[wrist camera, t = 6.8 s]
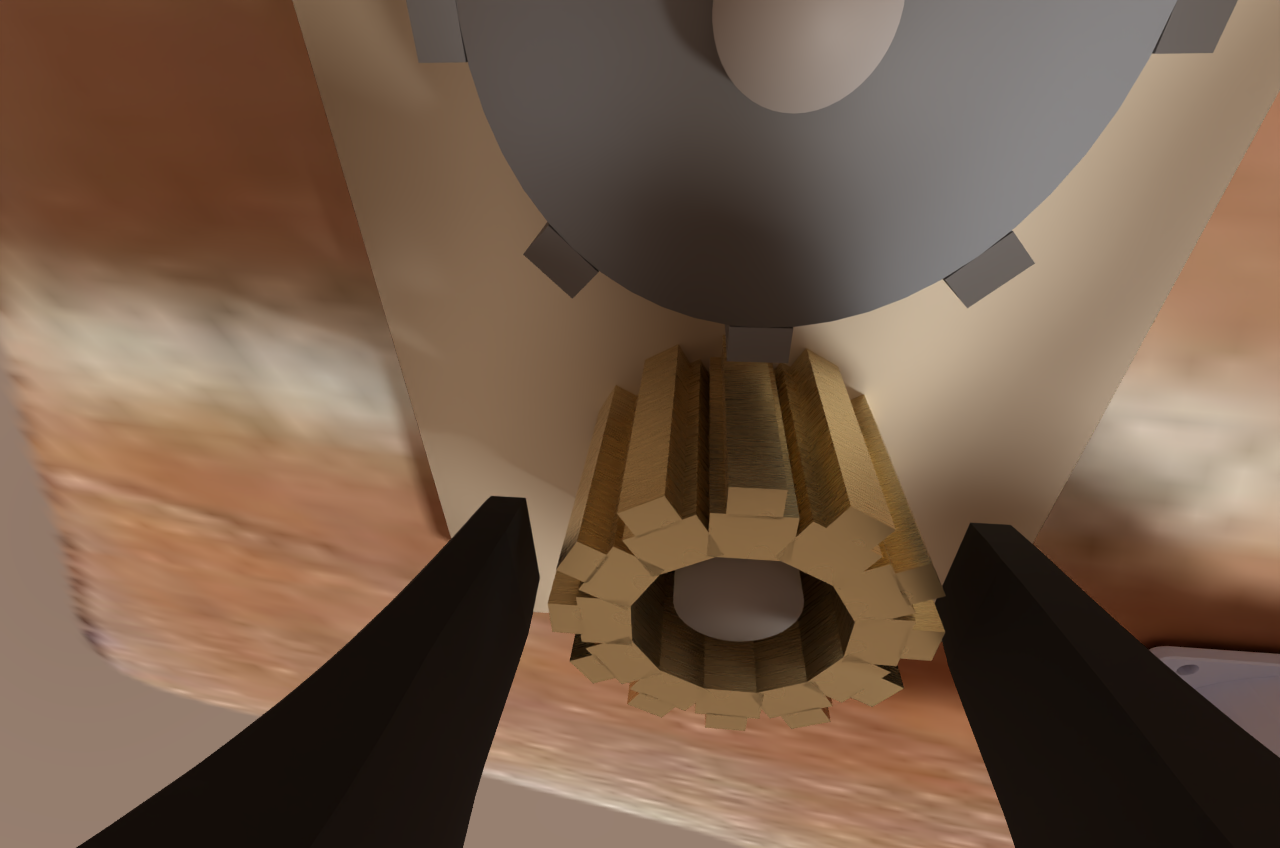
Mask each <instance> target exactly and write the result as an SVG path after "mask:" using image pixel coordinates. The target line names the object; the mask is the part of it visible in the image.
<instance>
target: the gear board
mask: <svg viewBox="0 0 1280 848" xmlns="http://www.w3.org/2000/svg"><path fill="white" fill-rule="evenodd" d="M292 1H293V4H294V8H295V11H296V14H297V18H298V21H299V25H300V28H301V31H302V35H303V38H304V42H305V45H306V48H307V52H308V55H309V58H310V62H311V65H312V69H313V72H314V75H315V79H316V82H317V86H318V89H319V92H320V96H321V99H322V102H323V106H324V109H325V113H326V116H327V119H328V123H329V126H330V130H331V133H332V136H333V140H334V143H335V146H336V150H337V153H338V157H339V160H340V163H341V167H342V170H343V174H344V177H345V180H346V184H347V187H348V191H349V194H350V197H351V201H352V204H353V207H354V211H355V214H356V218H357V221H358V224H359V228H360V231H361V235H362V238H363V241H364V245H365V248H366V251H367V255H368V258H369V262H370V265H371V268H372V272H373V275H374V279H375V282H376V285H377V289H378V292H379V295H380V299H381V302H382V306H383V309H384V312H385V316H386V319H387V323H388V326H389V329H390V333H391V336H392V340H393V343H394V346H395V350H396V353H397V356H398V360H399V363H400V367H401V370H402V373H403V377H404V380H405V384H406V387H407V390H408V394H409V397H410V400H411V404H412V407H413V411H414V414H415V417H416V421H417V424H418V428H419V431H420V434H421V438H422V441H423V444H424V448H425V451H426V455H427V458H428V461H429V465H430V468H431V472H432V475H433V478H434V482H435V485H436V489H437V492H438V495H439V499H440V502H441V505H442V509H443V512H444V516H445V519H446V522H447V526H448V529H449V533H450V536H451V538H452V537H453V536H454V535H455V534H456V533H457V532H458V531H459V530H460V529H461V527H462V526H463V525H464V524H465V523H466V522H467V521H468V520H469V518H470V517H471V516H472V515H473V514H474V513H475V512H476V511H477V510H478V508H479V507H480V506H481V505H482V504H483V503H484V502H485V501H486V500H487V499H488V498H489V497H490V496H503V497H521V498H526V501H527V507H528V513H529V518H530V524H531V529H532V535H533V541H534V546H535V552H536V558H537V563H538V569H539V574H540V581H539V585H538V590H537V595H536V600H535V605H534V610H533V612H543V613H549V609H548V600H549V596H550V592H551V589H552V585H553V581H554V578H555V574H556V568H557V564H558V560H559V557H560V553H561V549H562V546H563V542H564V538H565V535H566V531H567V527H568V524H569V520H570V516H571V513H572V509H573V505H574V502H575V498H576V494H577V491H578V487H579V483H580V480H581V476H582V472H583V469H584V465H585V461H586V458H587V454H588V450H589V447H590V443H591V439H592V436H593V432H594V428H595V425H596V421H597V417H598V414H599V410H600V409H601V407H602V406H603V404H604V402H605V401H606V399H607V398H608V396H609V395H610V393H611V392H612V390H613V388H614V387H615V385H617V386H619V387H621V388H623V389H625V390H627V391H629V392H630V393H632V394H634V395H636V396H637V394H638V393H639V390H640V385H641V379H642V374H643V369H644V363H645V360H646V359H648V358H650V357H652V356H654V355H656V354H658V353H660V352H663V351H665V350H667V349H669V348H671V347H673V346H675V345H677V344H679V345H680V347H681V349H682V350H683V352H684V354H685V355H686V357H687V358H688V360H689V362H690V363H692V362H694V361H696V360H699V359H701V361H702V363H703V364H704V366H705V368H706V369H707V371H708V373H709V364H710V357H721V352H722V339H723V335H725V336H726V357H727V361H733V362H764V363H773V369H774V370H775V368H776V367H777V366H778V365H779V364H780V363H785V364H786V365H788V366H790V367H791V365H792V364H793V363H794V362H795V361H796V360H797V358H798V357H799V356H800V355H801V354H802V352H803V351H804V350H805V349H806V348H807V349H809V350H811V351H813V352H814V353H816V354H818V355H819V356H821V357H823V358H825V359H826V360H828V361H830V362H831V363H833V364H835V365H837V366H838V368H839V370H840V373H841V376H842V379H843V382H844V384H845V387H846V390H847V393H848V396H849V399H850V400H851V399H853V398H856V397H859V396H861V395H865V397H866V400H867V402H868V404H869V406H870V409H871V411H872V413H873V415H874V418H875V420H876V422H877V425H878V427H879V430H880V432H881V435H882V437H883V440H884V442H885V445H886V447H887V450H888V452H889V455H890V457H891V460H892V462H893V465H894V467H895V470H896V472H897V475H898V477H899V480H900V482H901V485H902V487H903V490H904V492H905V495H906V497H907V500H908V502H909V505H910V507H911V510H912V512H913V515H914V517H915V520H916V522H917V525H918V527H919V530H920V532H921V535H922V537H923V540H924V542H925V545H926V547H927V550H928V552H929V555H930V557H931V560H932V562H933V565H934V567H935V570H936V572H937V575H938V577H939V580H940V582H941V585H943V583H944V581H945V579H946V576H947V574H948V572H949V569H950V567H951V565H952V563H953V560H954V558H955V556H956V554H957V551H958V549H959V547H960V544H961V542H962V540H963V538H964V535H965V533H966V531H967V529H968V526H969V524H970V523H987V524H1005V525H1012V526H1013V527H1014V528H1015V529H1016V530H1017V531H1018V532H1020V533H1021V534H1022V535H1023V536H1024V537H1025V538H1026V539H1028V540H1029V541H1030V542H1031V543H1032V544H1033V542H1034V540H1035V539H1036V537H1037V535H1038V533H1039V531H1040V529H1041V528H1042V526H1043V524H1044V522H1045V520H1046V518H1047V517H1048V515H1049V513H1050V511H1051V509H1052V507H1053V506H1054V504H1055V502H1056V500H1057V498H1058V496H1059V495H1060V493H1061V491H1062V489H1063V487H1064V485H1065V484H1066V482H1067V480H1068V478H1069V476H1070V474H1071V473H1072V471H1073V469H1074V467H1075V465H1076V463H1077V462H1078V460H1079V458H1080V456H1081V454H1082V452H1083V450H1084V449H1085V447H1086V445H1087V443H1088V441H1089V439H1090V438H1091V436H1092V434H1093V432H1094V430H1095V428H1096V427H1097V425H1098V423H1099V421H1100V419H1101V417H1102V416H1103V414H1104V412H1105V410H1106V408H1107V406H1108V405H1109V403H1110V401H1111V399H1112V397H1113V395H1114V394H1115V392H1116V390H1117V388H1118V386H1119V384H1120V383H1121V381H1122V379H1123V377H1124V375H1125V373H1126V372H1127V370H1128V368H1129V366H1130V364H1131V362H1132V361H1133V359H1134V357H1135V355H1136V353H1137V351H1138V349H1139V348H1140V346H1141V344H1142V342H1143V340H1144V338H1145V337H1146V335H1147V333H1148V331H1149V329H1150V327H1151V326H1152V324H1153V322H1154V320H1155V318H1156V316H1157V315H1158V313H1159V311H1160V309H1161V307H1162V305H1163V304H1164V302H1165V300H1166V298H1167V296H1168V294H1169V293H1170V291H1171V289H1172V287H1173V285H1174V283H1175V282H1176V280H1177V278H1178V276H1179V274H1180V272H1181V271H1182V269H1183V267H1184V265H1185V263H1186V261H1187V260H1188V258H1189V256H1190V254H1191V252H1192V250H1193V248H1194V247H1195V245H1196V243H1197V241H1198V239H1199V237H1200V236H1201V234H1202V232H1203V230H1204V228H1205V226H1206V225H1207V223H1208V221H1209V219H1210V217H1211V215H1212V214H1213V212H1214V210H1215V208H1216V206H1217V204H1218V203H1219V201H1220V199H1221V197H1222V195H1223V193H1224V192H1225V190H1226V188H1227V186H1228V184H1229V182H1230V181H1231V179H1232V177H1233V175H1234V173H1235V171H1236V170H1237V168H1238V166H1239V164H1240V162H1241V160H1242V159H1243V157H1244V155H1245V153H1246V151H1247V149H1248V147H1249V146H1250V144H1251V142H1252V140H1253V138H1254V136H1255V135H1256V133H1257V131H1258V129H1259V127H1260V125H1261V124H1262V122H1263V120H1264V118H1265V116H1266V114H1267V113H1268V111H1269V109H1270V107H1271V105H1272V103H1273V102H1274V100H1275V98H1276V96H1277V94H1278V92H1279V91H1280V0H292ZM936 599H937V598H936ZM936 599H933V601H934V603H935V601H936ZM673 604H674V608H675V610H676V612H677V614H678V616H679V617H680V618H681V619H682V620H683V621H684V623H686V624H687V625H688V626H689V627H691V628H692V629H694V630H695V631H697V632H699V633H701V634H704V635H706V636H709V637H712V638H716V639H721V640H727V641H754V640H760V639H765V638H768V637H771V636H774V635H776V634H779V633H781V632H782V631H784V630H786V629H787V628H789V627H790V626H791V625H792V624H794V623H795V621H796V620H797V619H798V618H799V616H800V614H801V613H802V610H803V606H804V597H803V590H802V584H801V578H800V571H799V569H797V568H795V567H793V566H791V565H788V564H786V563H784V562H782V561H771V560H756V559H740V558H724V557H714V558H711V559H708V560H705V561H702V562H698V563H695V564H692V565H689V566H686V567H682V568H679V569H676V570H675V574H674V590H673ZM941 642H942V640H941Z"/></svg>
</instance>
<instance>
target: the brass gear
mask: <svg viewBox="0 0 1280 848" xmlns="http://www.w3.org/2000/svg"><path fill="white" fill-rule="evenodd" d="M714 557H724V558H740V559H756V560H771V561H782V562H784V563H786V564H788V565H791V566H793V567H795V568H797V569H799V571H800V578H801V584H802V590H803V597H804V606H803V610H802V613H801V614H800V616H799V618H798V619H797V620H796V621H795V623H794V624H792V625H791V626H790V627H789V628H787V629H786V630H784V631H782V632H781V633H779V634H776V635H774V636H771V637H768V638H765V639H760V640H754V641H727V640H721V639H716V638H712V637H709V636H706V635H704V634H701V633H699V632H697V631H695V630H694V629H692V628H691V627H689V626H688V625H687V624H686V623H684V621H683V620H682V619H681V618H680V617H679V616H678V614H677V612H676V610H675V608H674V604H673V590H674V574H675V570H676V569H679V568H682V567H686V566H689V565H692V564H695V563H698V562H702V561H705V560H708V559H711V558H714ZM944 596H946V595H945V592H944V590H943V587H942V585H941V582H940V580H939V577H938V575H937V572H936V570H935V567H934V565H933V562H932V560H931V557H930V555H929V552H928V550H927V547H926V545H925V542H924V540H923V537H922V535H921V532H920V530H919V527H918V525H917V522H916V520H915V517H914V515H913V512H912V510H911V507H910V505H909V502H908V500H907V497H906V495H905V492H904V490H903V487H902V485H901V482H900V480H899V477H898V475H897V472H896V470H895V467H894V465H893V462H892V460H891V457H890V455H889V452H888V450H887V447H886V445H885V442H884V440H883V437H882V435H881V432H880V430H879V427H878V425H877V422H876V420H875V418H874V415H873V413H872V411H871V409H870V406H869V404H868V402H867V400H866V397H865V395H861V396H859V397H856V398H853V399H851V400H850V399H849V396H848V393H847V390H846V387H845V384H844V382H843V379H842V376H841V373H840V370H839V368H838V366H837V365H835V364H833V363H831V362H830V361H828V360H826V359H825V358H823V357H821V356H819V355H818V354H816V353H814V352H813V351H811V350H809V349H807V348H806V349H805V350H804V351H803V352H802V354H801V355H800V356H799V357H798V358H797V360H796V361H795V362H794V363H793V364H792V365H791V367H790V366H788V365H786V364H785V363H780V364H779V365H778V366H777V367H776V368H775V370H774V369H773V363H764V362H733V361H727V357H726V336H725V335H723V339H722V352H721V357H710V364H709V373H708V371H707V369H706V368H705V366H704V364H703V363H702V361H701V359H699V360H696V361H694V362H692V363H690V362H689V360H688V358H687V357H686V355H685V354H684V352H683V350H682V349H681V347H680V345H679V344H677V345H675V346H673V347H671V348H669V349H667V350H665V351H663V352H660V353H658V354H656V355H654V356H652V357H650V358H648V359H646V360H645V363H644V369H643V374H642V379H641V385H640V390H639V393H638V394H637V396H636V395H634V394H632V393H630V392H629V391H627V390H625V389H623V388H621V387H619V386H617V385H615V387H614V388H613V390H612V392H611V393H610V395H609V396H608V398H607V399H606V401H605V402H604V404H603V406H602V407H601V409H600V410H599V414H598V417H597V421H596V425H595V428H594V432H593V436H592V439H591V443H590V447H589V450H588V454H587V458H586V461H585V465H584V469H583V472H582V476H581V480H580V483H579V487H578V491H577V494H576V498H575V502H574V505H573V509H572V513H571V516H570V520H569V524H568V527H567V531H566V535H565V538H564V542H563V546H562V549H561V553H560V557H559V560H558V564H557V568H556V574H555V578H554V581H553V585H552V589H551V592H550V596H549V600H548V609H549V615H550V621H551V627H552V632H561V633H574V634H575V638H574V643H573V648H572V653H571V657H570V662H571V663H572V664H573V665H574V666H575V667H576V668H577V669H578V670H579V671H580V672H582V673H583V674H584V675H585V676H586V677H587V678H588V679H589V680H590V681H591V682H592V683H597V682H601V681H605V680H609V679H613V678H616V679H617V680H618V681H619V682H620V683H621V684H625V683H629V682H630V685H629V693H628V702H627V704H628V705H631V706H633V707H636V708H639V709H641V710H644V711H646V712H649V713H651V714H654V715H657V716H659V717H663V716H664V715H666V714H667V713H668V712H669V711H671V710H672V709H673V708H674V707H676V708H679V709H681V710H684V711H686V710H687V709H688V708H689V707H691V706H692V705H693V704H695V713H698V714H705V727H706V728H717V729H728V730H739V731H745V729H746V723H747V718H755V719H759V718H760V713H761V708H762V709H763V711H764V712H765V713H766V714H767V716H768V717H769V718H774V717H779V716H781V717H782V718H783V719H784V721H785V722H786V723H787V724H788V726H789V727H790V728H791V729H794V728H799V727H805V726H810V725H816V724H821V723H826V722H831V721H830V715H829V709H828V707H831V706H833V705H832V700H831V698H832V699H835V700H837V701H839V702H844V701H845V700H847V699H849V698H850V697H851V698H853V699H855V700H858V701H860V702H862V703H864V704H867V705H869V706H871V707H873V706H875V705H877V704H878V703H880V702H882V701H883V700H885V699H887V698H888V697H890V696H892V695H894V694H895V693H897V692H899V691H900V690H902V689H904V686H903V683H902V679H901V676H900V672H899V669H898V665H897V664H898V662H899V660H900V658H901V659H914V660H927V661H932V659H933V657H934V655H935V653H936V651H937V648H938V646H939V644H940V642H941V640H942V638H943V636H944V634H945V630H944V627H943V625H942V622H941V619H940V617H939V614H938V611H937V609H936V606H935V603H934V601H933V599H936V598H940V597H944Z"/></svg>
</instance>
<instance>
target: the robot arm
mask: <svg viewBox="0 0 1280 848" xmlns="http://www.w3.org/2000/svg"><path fill="white" fill-rule="evenodd" d="M539 581H540V574H539V569H538V563H537V558H536V552H535V546H534V541H533V535H532V529H531V524H530V518H529V513H528V507H527V501H526V498H521V497H503V496H490V497H489V498H488V499H487V500H486V501H485V502H484V503H483V504H482V505H481V506H480V507H479V508H478V510H477V511H476V512H475V513H474V514H473V515H472V516H471V517H470V518H469V520H468V521H467V522H466V523H465V524H464V525H463V526H462V527H461V529H460V530H459V531H458V532H457V533H456V534H455V535H454V536H453V537H452V538H451V540H450V541H449V542H448V543H447V544H446V545H445V546H444V547H443V548H442V549H441V550H440V552H439V553H438V554H437V555H436V556H435V557H434V558H433V559H432V560H431V561H430V562H429V563H428V564H427V565H426V566H425V567H424V568H423V570H422V571H421V572H420V573H419V574H418V575H417V576H416V577H415V578H414V579H413V580H412V581H411V582H410V583H409V584H408V585H407V586H406V587H405V588H404V589H403V590H402V591H401V592H400V593H399V594H398V595H397V596H396V597H395V598H394V599H393V600H392V601H391V602H390V603H389V604H388V605H387V606H386V607H385V608H384V609H383V610H382V611H381V612H380V613H379V614H378V615H377V616H376V617H375V618H374V619H373V620H372V621H371V622H369V623H368V624H367V625H366V626H365V627H364V628H363V629H362V630H361V631H360V632H359V633H358V634H357V635H356V636H355V637H354V638H353V639H352V640H351V641H350V642H348V643H347V644H346V645H345V646H344V647H343V648H342V649H341V650H340V651H338V652H337V653H336V654H335V655H334V656H333V657H332V658H331V659H330V660H328V661H327V662H326V663H325V664H324V665H323V666H322V667H320V668H319V669H318V670H317V671H316V672H315V673H313V674H312V675H311V676H310V677H309V678H308V679H306V680H305V681H304V682H303V683H302V684H300V685H299V686H298V687H297V688H296V689H294V690H293V691H292V692H291V693H290V694H288V695H287V696H286V697H285V698H284V699H282V700H281V701H280V702H279V703H277V704H276V705H275V706H274V707H272V708H271V709H270V710H269V711H267V712H266V713H265V714H263V715H262V716H261V717H260V718H258V719H257V720H256V721H254V722H253V723H252V724H251V725H250V726H248V727H247V728H245V729H244V730H243V731H242V732H240V733H239V734H238V735H236V736H235V737H234V738H233V739H231V740H230V741H229V742H227V743H226V744H225V745H224V746H222V747H221V748H220V749H218V750H217V751H215V752H214V753H213V754H211V755H210V756H209V757H207V758H206V759H205V760H203V761H202V762H201V763H199V764H198V765H196V766H195V767H194V768H192V769H191V770H189V771H188V772H187V773H185V774H184V775H182V776H181V777H179V778H178V779H176V780H175V781H174V782H172V783H171V784H169V785H168V786H166V787H165V788H164V789H162V790H161V791H159V792H158V793H156V794H155V795H153V796H152V797H150V798H149V799H148V800H146V801H145V802H143V803H142V804H140V805H139V806H137V807H136V808H134V809H133V810H132V811H130V812H129V813H127V814H126V815H125V816H123V817H122V818H120V819H119V820H117V821H116V822H114V823H113V824H111V825H110V826H108V827H107V828H105V829H104V830H102V831H101V832H99V833H98V834H96V835H95V836H93V837H92V838H90V839H89V840H87V841H86V842H84V843H83V844H81V845H80V846H78V847H77V848H463V845H464V841H465V837H466V833H467V829H468V824H469V820H470V816H471V812H472V808H473V804H474V800H475V796H476V792H477V789H478V785H479V782H480V778H481V775H482V772H483V768H484V765H485V762H486V759H487V756H488V753H489V750H490V747H491V744H492V741H493V738H494V735H495V732H496V729H497V726H498V723H499V720H500V718H501V715H502V712H503V709H504V706H505V703H506V700H507V697H508V694H509V691H510V688H511V685H512V682H513V679H514V676H515V673H516V670H517V667H518V664H519V661H520V658H521V655H522V652H523V649H524V646H525V642H526V639H527V636H528V633H529V628H530V624H531V619H532V615H533V610H534V605H535V600H536V595H537V590H538V585H539ZM942 587H943V590H944V592H945V595H946V596H944V597H940V598H937V599H936V601H935V606H936V609H937V611H938V614H939V617H940V619H941V622H942V625H943V627H944V630H945V634H944V636H943V638H942V642H943V646H944V650H945V654H946V658H947V662H948V666H949V669H950V672H951V674H952V677H953V680H954V683H955V686H956V688H957V691H958V694H959V696H960V699H961V702H962V705H963V707H964V710H965V713H966V715H967V718H968V721H969V723H970V726H971V729H972V731H973V734H974V737H975V739H976V742H977V744H978V747H979V750H980V752H981V755H982V758H983V760H984V763H985V766H986V768H987V771H988V773H989V776H990V779H991V781H992V784H993V787H994V789H995V792H996V795H997V797H998V800H999V803H1000V805H1001V808H1002V810H1003V813H1004V816H1005V819H1006V822H1007V825H1008V828H1009V831H1010V834H1011V837H1012V839H1013V842H1014V845H1015V848H1280V654H1273V653H1259V652H1245V651H1231V650H1217V649H1203V648H1189V647H1175V646H1158V647H1154V648H1151V649H1149V650H1148V649H1147V648H1146V647H1145V646H1144V645H1143V644H1142V643H1140V642H1139V641H1138V640H1137V639H1136V638H1135V637H1134V636H1133V635H1131V634H1130V633H1129V632H1128V631H1127V630H1126V629H1125V628H1124V627H1122V626H1121V625H1120V624H1119V623H1118V622H1117V621H1116V620H1115V619H1114V618H1112V617H1111V616H1110V615H1109V614H1108V613H1107V612H1106V611H1105V610H1104V609H1103V608H1101V607H1100V606H1099V605H1098V604H1097V603H1096V602H1095V601H1094V600H1093V599H1092V598H1091V597H1089V596H1088V595H1087V594H1086V593H1085V592H1084V591H1083V590H1082V589H1081V588H1080V587H1079V586H1078V585H1076V584H1075V583H1074V582H1073V581H1072V580H1071V579H1070V578H1069V577H1068V576H1067V575H1066V574H1065V573H1063V572H1062V571H1061V570H1060V569H1059V568H1058V567H1057V566H1056V565H1055V564H1054V563H1053V562H1052V561H1051V560H1049V559H1048V558H1047V557H1046V556H1045V555H1044V554H1043V553H1042V552H1041V551H1040V550H1039V549H1037V548H1036V547H1035V546H1034V545H1033V544H1032V543H1031V542H1030V541H1029V540H1028V539H1026V538H1025V537H1024V536H1023V535H1022V534H1021V533H1020V532H1018V531H1017V530H1016V529H1015V528H1014V527H1013V526H1012V525H1005V524H987V523H970V524H969V526H968V529H967V531H966V533H965V535H964V538H963V540H962V542H961V544H960V547H959V549H958V551H957V554H956V556H955V558H954V560H953V563H952V565H951V567H950V569H949V572H948V574H947V576H946V579H945V581H944V583H943V585H942Z"/></svg>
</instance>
